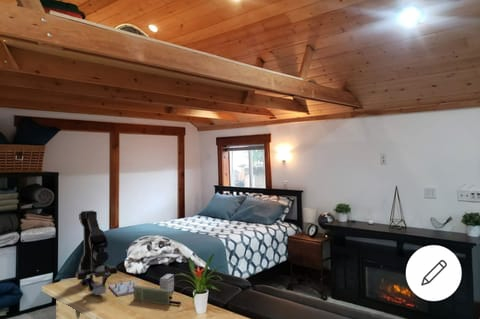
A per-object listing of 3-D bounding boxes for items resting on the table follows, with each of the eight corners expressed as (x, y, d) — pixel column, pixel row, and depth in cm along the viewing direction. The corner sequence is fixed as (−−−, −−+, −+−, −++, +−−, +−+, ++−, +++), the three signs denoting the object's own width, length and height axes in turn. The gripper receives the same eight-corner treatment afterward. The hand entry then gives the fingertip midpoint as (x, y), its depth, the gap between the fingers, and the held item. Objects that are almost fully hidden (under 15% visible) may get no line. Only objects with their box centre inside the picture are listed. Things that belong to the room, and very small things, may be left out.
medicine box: (168, 296, 173) (168, 278, 173) (159, 295, 174) (159, 278, 174) (174, 290, 181) (174, 274, 181) (166, 290, 182) (166, 273, 182)
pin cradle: (109, 287, 186) (109, 280, 186) (131, 282, 193) (131, 276, 193) (117, 296, 173) (117, 289, 173) (141, 291, 180) (141, 284, 180)
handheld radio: (136, 298, 171) (182, 304, 164) (132, 301, 168) (179, 307, 161) (136, 284, 171) (182, 290, 164) (132, 287, 168) (178, 293, 160)
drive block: (88, 290, 177) (88, 283, 177) (97, 288, 180) (97, 280, 180) (95, 295, 170) (95, 287, 170) (105, 292, 174) (105, 285, 174)
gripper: (80, 265, 163) (79, 298, 163) (120, 259, 174) (120, 290, 174) (75, 259, 173) (75, 291, 172) (114, 254, 183) (114, 284, 183)
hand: (96, 289), depth 175 cm, fingers closed on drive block, 5 cm apart
